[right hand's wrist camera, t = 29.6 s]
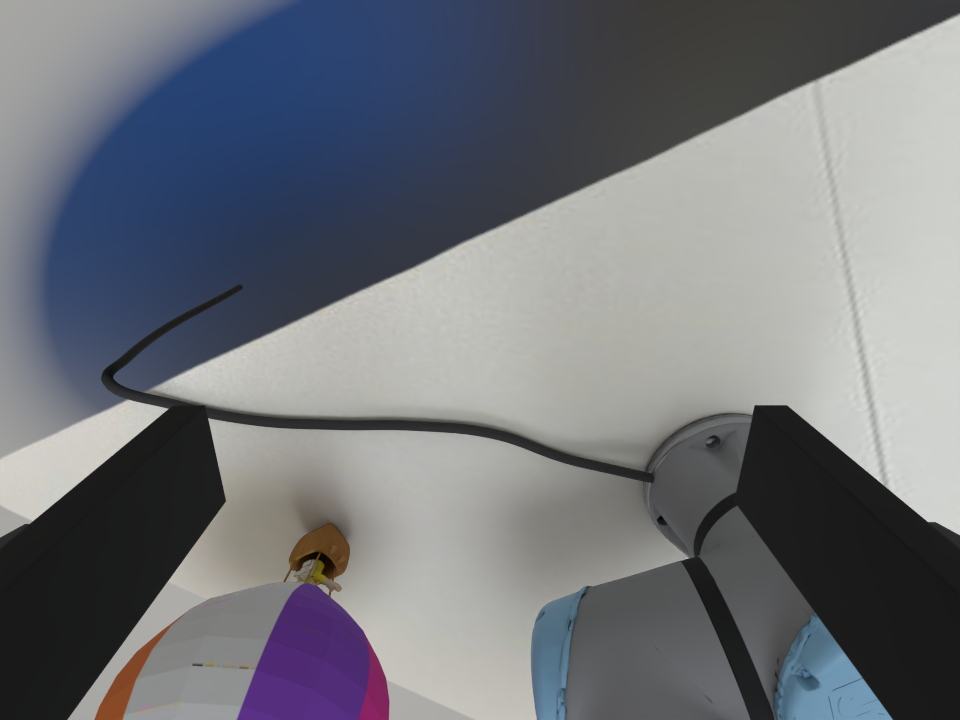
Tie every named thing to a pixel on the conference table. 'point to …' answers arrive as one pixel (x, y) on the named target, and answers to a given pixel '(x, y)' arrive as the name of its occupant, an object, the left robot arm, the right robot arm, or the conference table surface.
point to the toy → (260, 654)
